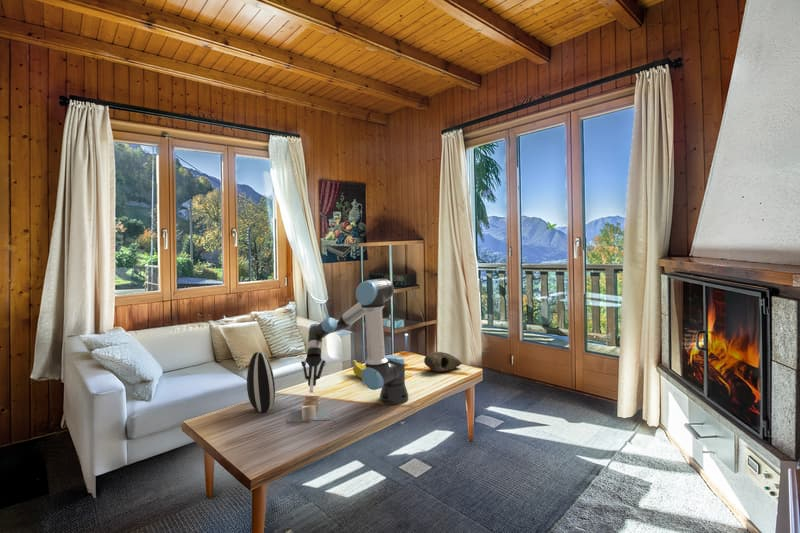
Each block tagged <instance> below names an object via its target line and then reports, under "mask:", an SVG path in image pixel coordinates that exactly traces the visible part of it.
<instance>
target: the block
mask: <svg viewBox="0 0 800 533" xmlns="http://www.w3.org/2000/svg"><path fill="white" fill-rule="evenodd" d="M318 408H319V395H310V396H305V398H304V400H303V403H302V406H301V409H302V420H312V419H315V418H316V414H317V411H318Z"/></svg>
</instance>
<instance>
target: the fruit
mask: <svg viewBox="0 0 800 533" xmlns="http://www.w3.org/2000/svg"><path fill="white" fill-rule="evenodd" d="M351 362H352V363H353V366H352V371H353V373H354V374H355V376H356V377H358V378H360V379H361V380H362V377H361V374H362V371H363V370H364V369H365V368H366V366H365V365H364V364H363V363H360V362H357V360H355V359H353V360H352V361H351Z"/></svg>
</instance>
